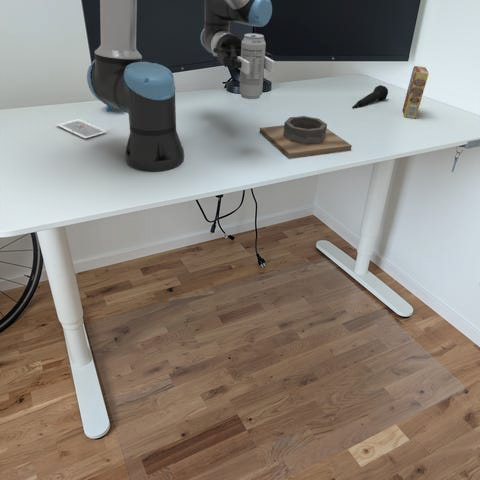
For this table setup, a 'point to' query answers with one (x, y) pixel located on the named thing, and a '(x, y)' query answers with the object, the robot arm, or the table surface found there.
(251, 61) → the energy drink can
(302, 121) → the can dock
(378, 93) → the microphone
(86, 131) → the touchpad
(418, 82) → the candy box
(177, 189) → the table surface
